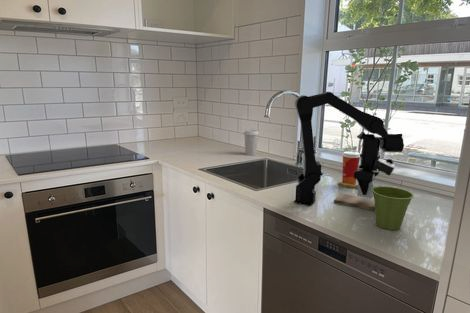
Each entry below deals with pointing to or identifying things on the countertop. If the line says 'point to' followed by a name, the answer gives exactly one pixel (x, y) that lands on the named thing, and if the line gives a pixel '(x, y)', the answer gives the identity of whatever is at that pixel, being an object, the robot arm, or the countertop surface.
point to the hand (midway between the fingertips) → (365, 193)
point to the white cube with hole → (369, 192)
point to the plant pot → (390, 206)
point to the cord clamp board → (354, 199)
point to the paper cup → (350, 167)
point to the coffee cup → (251, 141)
